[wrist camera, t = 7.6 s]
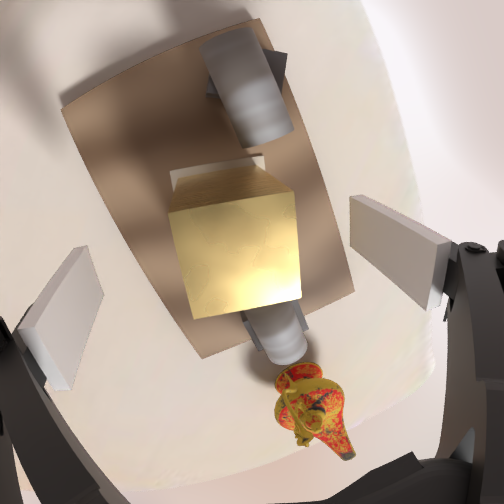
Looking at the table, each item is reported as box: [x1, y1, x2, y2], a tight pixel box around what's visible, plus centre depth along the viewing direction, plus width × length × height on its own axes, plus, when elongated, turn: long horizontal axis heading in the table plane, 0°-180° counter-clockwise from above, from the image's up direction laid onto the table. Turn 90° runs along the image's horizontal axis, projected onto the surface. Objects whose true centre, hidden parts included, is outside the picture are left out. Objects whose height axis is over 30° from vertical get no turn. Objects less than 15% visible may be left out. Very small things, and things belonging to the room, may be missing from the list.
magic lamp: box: [274, 362, 356, 461], centre depth 26 cm, size 7×18×11 cm, turn 31°
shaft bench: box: [61, 18, 355, 365], centre depth 19 cm, size 22×14×6 cm, turn 22°
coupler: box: [168, 165, 301, 319], centre depth 17 cm, size 5×5×8 cm
